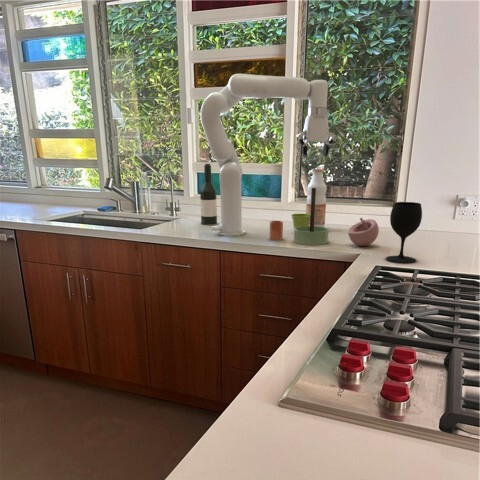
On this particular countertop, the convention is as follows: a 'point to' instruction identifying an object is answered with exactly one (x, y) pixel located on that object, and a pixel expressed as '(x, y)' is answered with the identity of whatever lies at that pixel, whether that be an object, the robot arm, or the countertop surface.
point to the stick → (312, 209)
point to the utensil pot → (276, 230)
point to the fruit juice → (317, 197)
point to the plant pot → (300, 220)
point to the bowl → (311, 235)
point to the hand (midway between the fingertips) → (315, 155)
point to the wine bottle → (208, 199)
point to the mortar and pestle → (364, 232)
